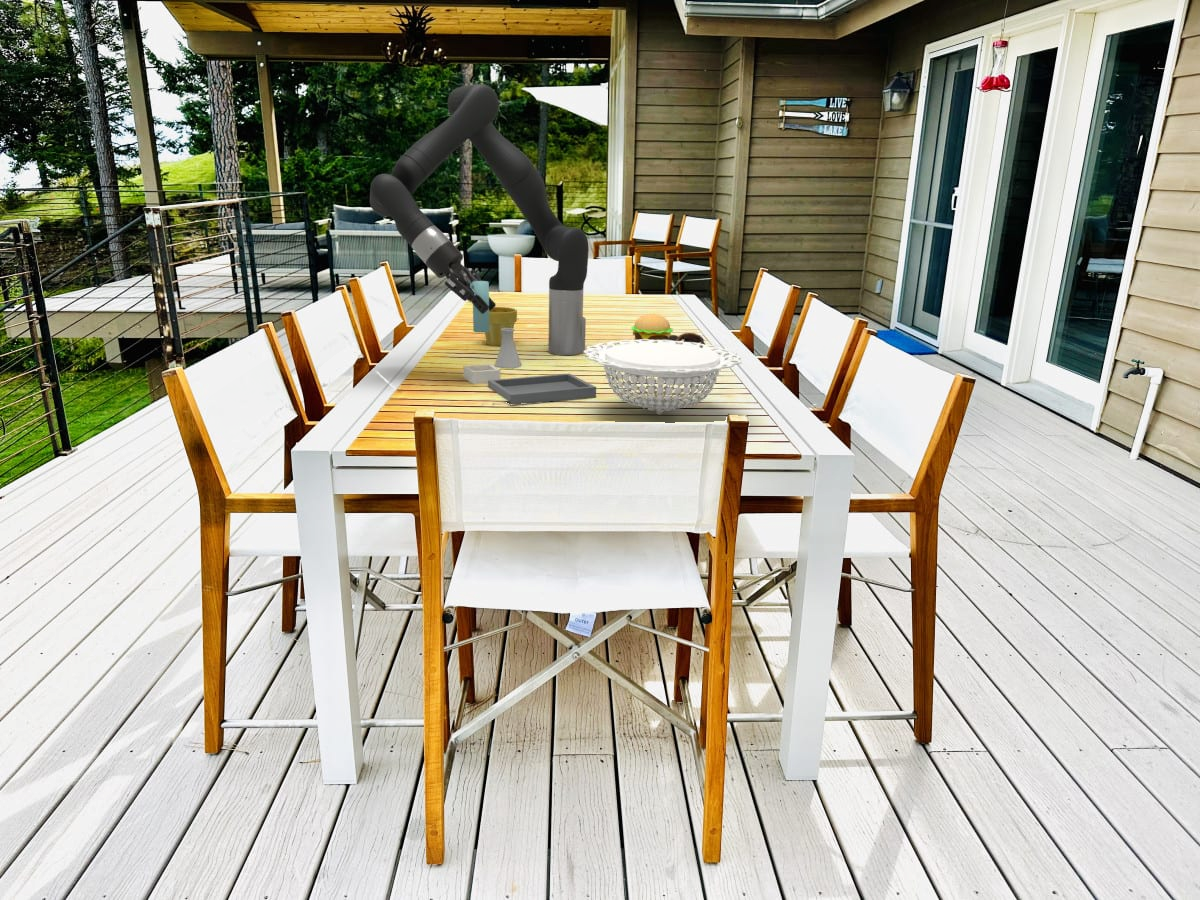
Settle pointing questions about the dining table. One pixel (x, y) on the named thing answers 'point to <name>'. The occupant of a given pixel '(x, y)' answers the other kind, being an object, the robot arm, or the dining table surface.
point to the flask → (507, 351)
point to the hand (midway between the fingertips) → (489, 309)
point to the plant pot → (499, 323)
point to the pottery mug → (688, 338)
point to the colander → (661, 370)
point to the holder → (481, 373)
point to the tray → (542, 388)
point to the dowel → (478, 318)
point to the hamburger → (652, 328)
